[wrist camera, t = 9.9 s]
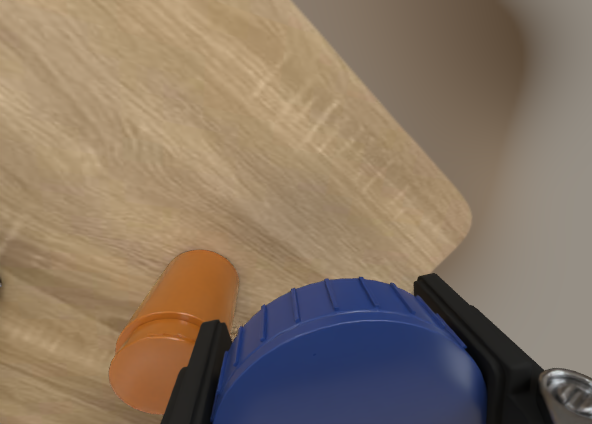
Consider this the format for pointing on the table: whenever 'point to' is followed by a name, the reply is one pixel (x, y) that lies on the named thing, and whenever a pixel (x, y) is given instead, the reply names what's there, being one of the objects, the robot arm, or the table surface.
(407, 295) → the jar lid
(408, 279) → the table surface
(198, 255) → the jam jar
